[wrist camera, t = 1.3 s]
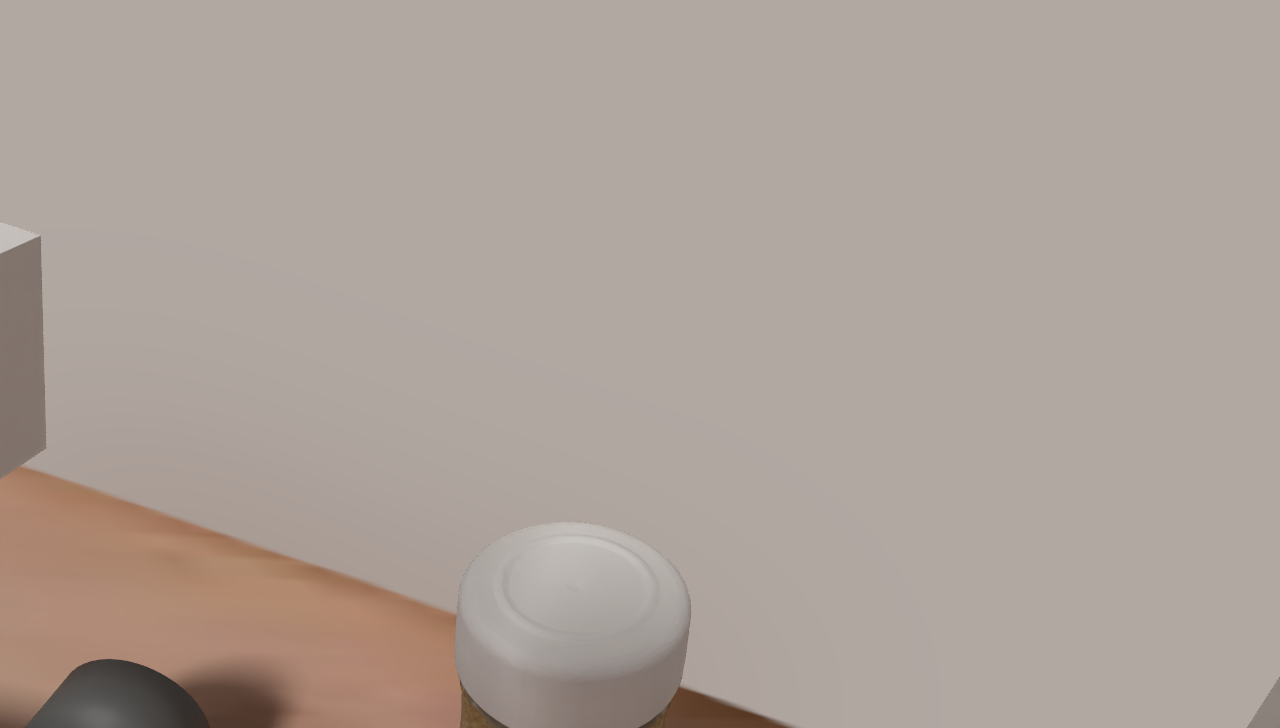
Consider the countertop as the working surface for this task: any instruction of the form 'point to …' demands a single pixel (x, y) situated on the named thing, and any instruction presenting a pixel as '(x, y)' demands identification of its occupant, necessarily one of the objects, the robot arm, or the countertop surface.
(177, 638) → the countertop surface
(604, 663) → the spice jar
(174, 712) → the toy chassis
